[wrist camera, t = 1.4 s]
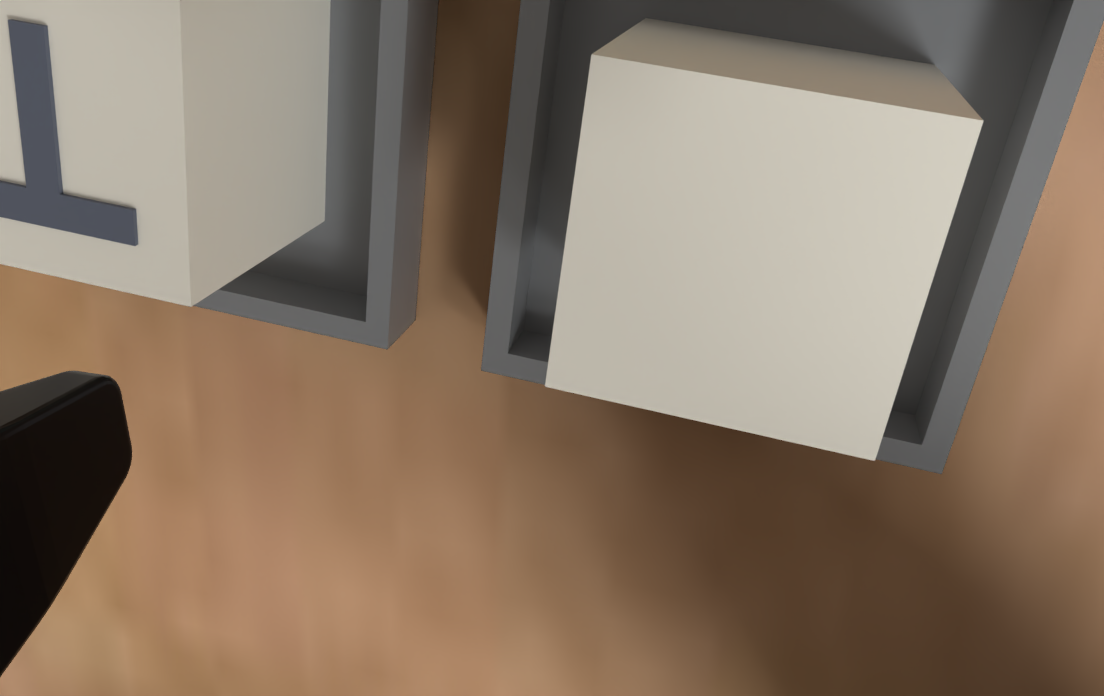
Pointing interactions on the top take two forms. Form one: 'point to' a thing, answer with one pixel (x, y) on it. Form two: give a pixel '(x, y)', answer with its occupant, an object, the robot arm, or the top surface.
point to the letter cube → (160, 138)
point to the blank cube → (755, 230)
